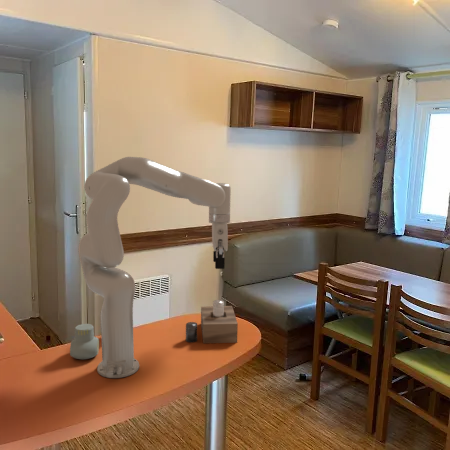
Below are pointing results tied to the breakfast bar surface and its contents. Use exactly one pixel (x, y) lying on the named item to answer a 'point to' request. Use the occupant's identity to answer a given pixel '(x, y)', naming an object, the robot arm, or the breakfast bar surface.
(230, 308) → the walnut block
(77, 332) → the air freshener
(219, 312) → the tall steel pin
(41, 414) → the breakfast bar surface
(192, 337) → the short black pin
